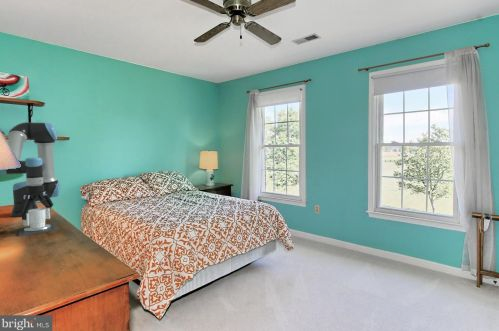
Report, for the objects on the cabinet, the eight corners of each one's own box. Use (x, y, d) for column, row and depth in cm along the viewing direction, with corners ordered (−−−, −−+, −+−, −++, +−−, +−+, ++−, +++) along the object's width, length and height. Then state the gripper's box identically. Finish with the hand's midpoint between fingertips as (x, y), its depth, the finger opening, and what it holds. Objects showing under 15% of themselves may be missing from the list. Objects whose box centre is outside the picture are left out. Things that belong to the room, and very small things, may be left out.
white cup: (26, 229, 149) (25, 211, 148) (32, 225, 157) (31, 208, 156) (42, 228, 152) (41, 210, 151) (48, 224, 159) (47, 207, 158)
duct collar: (20, 229, 155) (20, 226, 154) (54, 224, 164) (54, 221, 164) (18, 236, 144) (18, 232, 143) (55, 230, 153) (55, 227, 153)
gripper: (19, 188, 139) (22, 228, 141) (59, 182, 164) (61, 216, 165) (7, 188, 140) (9, 228, 142) (48, 181, 165) (50, 216, 166)
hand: (37, 222), depth 154 cm, fingers open, 13 cm apart
